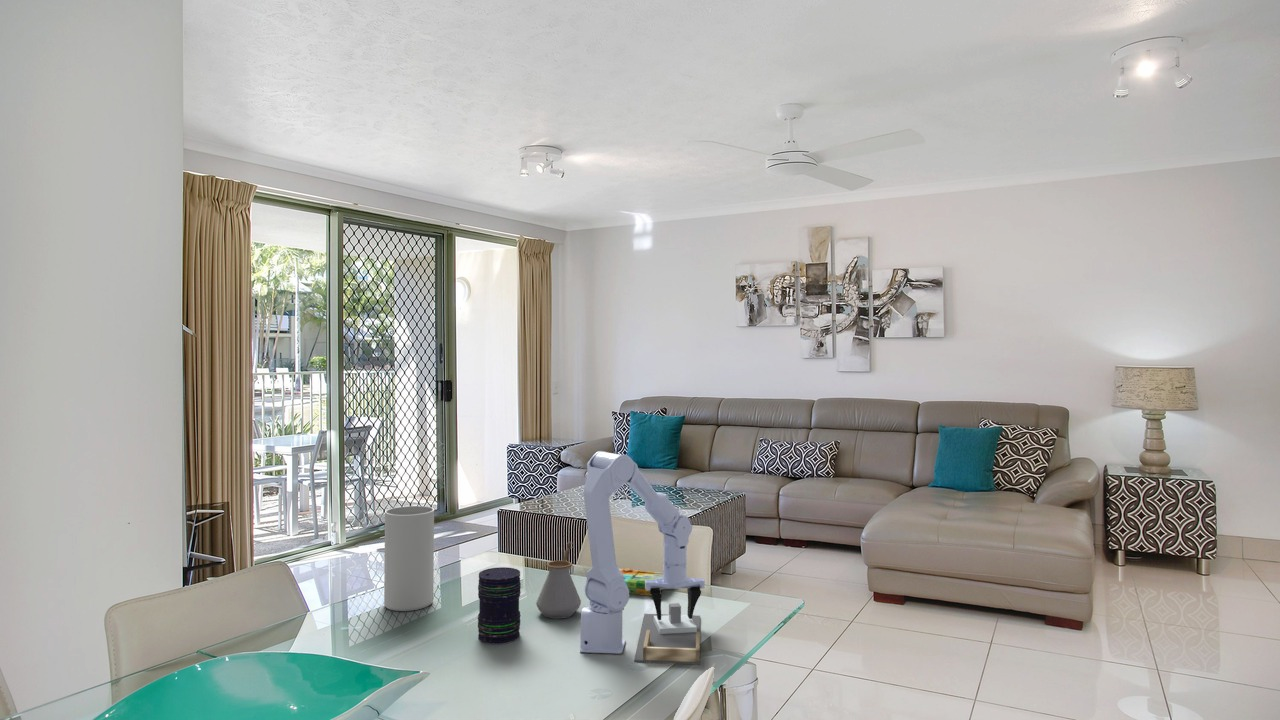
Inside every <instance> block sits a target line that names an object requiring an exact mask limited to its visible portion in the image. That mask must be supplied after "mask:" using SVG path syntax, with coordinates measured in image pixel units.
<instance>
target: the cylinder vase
mask: <svg viewBox="0 0 1280 720" xmlns="http://www.w3.org/2000/svg"><path fill="white" fill-rule="evenodd" d="M434 545H435V508H434V507H433V506H432V507H431V506H426V505H425V506H424V505H408V506H407V505H406V506H398V507H392V508H389V509H386V510H385V511H384V571H383V572H384V574H383V575H384V576H383V577H384V578H383V580H384V581H383V582H384V583H383V587H384V589H383V593H384V594H383V595H384V597H383V602H384V603H383V605H384V606H385V608H386V609H387V610H390V611H395V612H411V611H418V610H422V609H425V608H428V607H429V606H430V605H432V604H433V602H434V583H435V582H434V580H435V579H434V576H435V575H434V573H435V571H434V570H435V569H434V566H435V564H434V563H435V558H434V555H435V554H434V552H435V546H434Z"/></svg>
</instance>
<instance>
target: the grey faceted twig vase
mask: <svg viewBox="0 0 1280 720" xmlns="http://www.w3.org/2000/svg"><path fill="white" fill-rule="evenodd" d="M572 545H575V543H574V542H572V541H568V542H567V543H566V549H565V551H564V554H563V559H562V560H552V561H549V562H547V563H546V567H547V568H548V573H547V576H546V579H545V580H544V583H543V584H542V585H543V586H542V588H541V589H540V590H541V591H540V592H539V594H538V595H539V596H538V598H537V600H536V602H535V604H536V607H537V609H538V611H540V613H542V614H543V616H544V617H546V618H549V619H557V620H558V619H566V618H571V617H572V616H573V615H574V614H575V613H576V612H577V611H578V610H579V608H580V607H581V604H582V600H581V598H580V595H579V593H578V590H577V588H576V586H575V583H574V580H573V578H572V576H571V574H570V570H571V569H572V567H573V563H572V562H570V561H568V558H569V555H570V550H571V549H572V548H574V546H572Z"/></svg>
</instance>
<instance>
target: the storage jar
mask: <svg viewBox="0 0 1280 720" xmlns="http://www.w3.org/2000/svg"><path fill="white" fill-rule="evenodd" d="M521 584H522V583H521V571H520V570H519V569H518V568H515V567H504V566H503V567H493V568H492V567H491V568H490V567H489V568H486V569H484V570H481V571H480V572H479V573H478V584H477V590H478V593H477V597H478V599H479V605H478V606H479V613H478V615H477V629H478V636H477V638H478V641H479V642H482V643H484V644H488V645H503V644H509V643H513V642H515V641H517V640H518V639H519V638H520V637H521V636H520V635H521V632H520V629H521V611H520V597H521V593H522V591H521V586H522V585H521Z"/></svg>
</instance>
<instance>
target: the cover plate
mask: <svg viewBox="0 0 1280 720" xmlns="http://www.w3.org/2000/svg"><path fill="white" fill-rule="evenodd" d="M654 623H655V625H656V627H657V629H658V631H659V633H660V634H668V633H690V632H697V627H696V625H695V623H694V622H693V620H692V619H689V617H688V613H687V614H682V605H680V603H679V602H675V603H674V602H673V603H672V602H671V603H668V614H667V615H663V616H661V620H658V619H657V616H654Z"/></svg>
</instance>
